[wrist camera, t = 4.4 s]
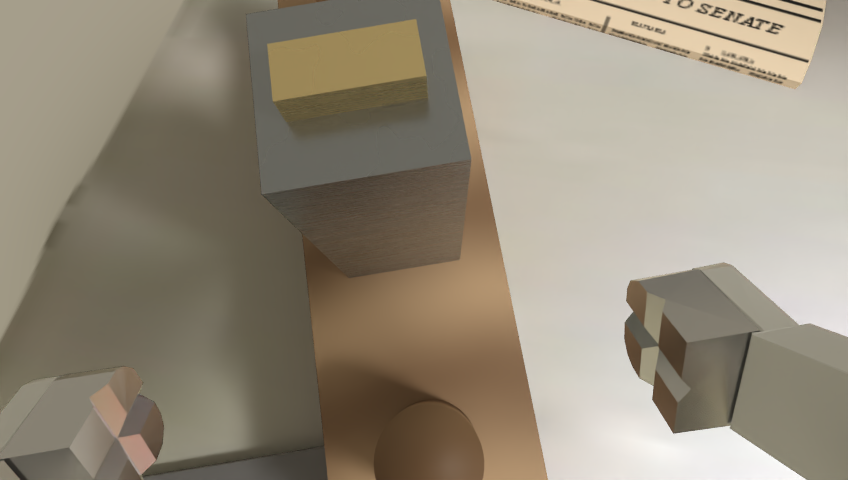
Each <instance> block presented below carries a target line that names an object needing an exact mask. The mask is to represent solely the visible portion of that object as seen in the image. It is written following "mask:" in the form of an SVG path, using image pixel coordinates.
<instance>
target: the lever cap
mask: <svg viewBox="0 0 848 480" xmlns="http://www.w3.org/2000/svg"><path fill="white" fill-rule="evenodd" d="M246 20H247V32H248V44H249V55H250V67H251V79H252V90H253V102H254V113H255V125H256V137H257V148H258V160H259V171H260V183H261V194H262V195H263V196H264V197H265V198H266V199H267V200H268V201H269V202H270V203H271V204H272V205H273V206H274V207H275V208H276V209H277V210H278V211H279V212H280V213H281V214H282V215H284V216H285V217H286V218H287V219H288V220H289V221H290V222H291V223H292V224H293V225H294V226H295V227H296V228H297V229H298V230H299V231H300V232H301V233H302V234H303V235H304V236H305V237H306V238H308V239H309V240H310V241H311V242H312V243H313V244H314V245H315V246H316V247H317V248H318V249H319V250H320V251H321V252H322V253H323V254H324V255H325V256H326V257H327V258H328V259H329V260H331V261H332V262H333V263H334V264H335V265H336V266H337V267H338V268H339V269H340V270H341V271H342V272H343V273H344V274H345V275H346V276H347V277H348V278H354V277H360V276H366V275H372V274H378V273H384V272H390V271H396V270H402V269H408V268H414V267H420V266H426V265H432V264H438V263H444V262H450V261H456V260H460V255H461V247H462V238H463V229H464V221H465V212H466V203H467V195H468V186H469V177H470V169H471V160H472V159H471V154H470V149H469V144H468V139H467V134H466V129H465V124H464V119H463V114H462V109H461V103H460V98H459V93H458V88H457V83H456V78H455V73H454V68H453V63H452V58H451V53H450V48H449V43H448V38H447V33H446V28H445V23H444V18H443V13H442V8H441V3H440V0H328V1H322V2H316V3H310V4H304V5H298V6H292V7H286V8H280V9H274V10H268V11H262V12H256V13H250V14H246Z"/></svg>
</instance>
